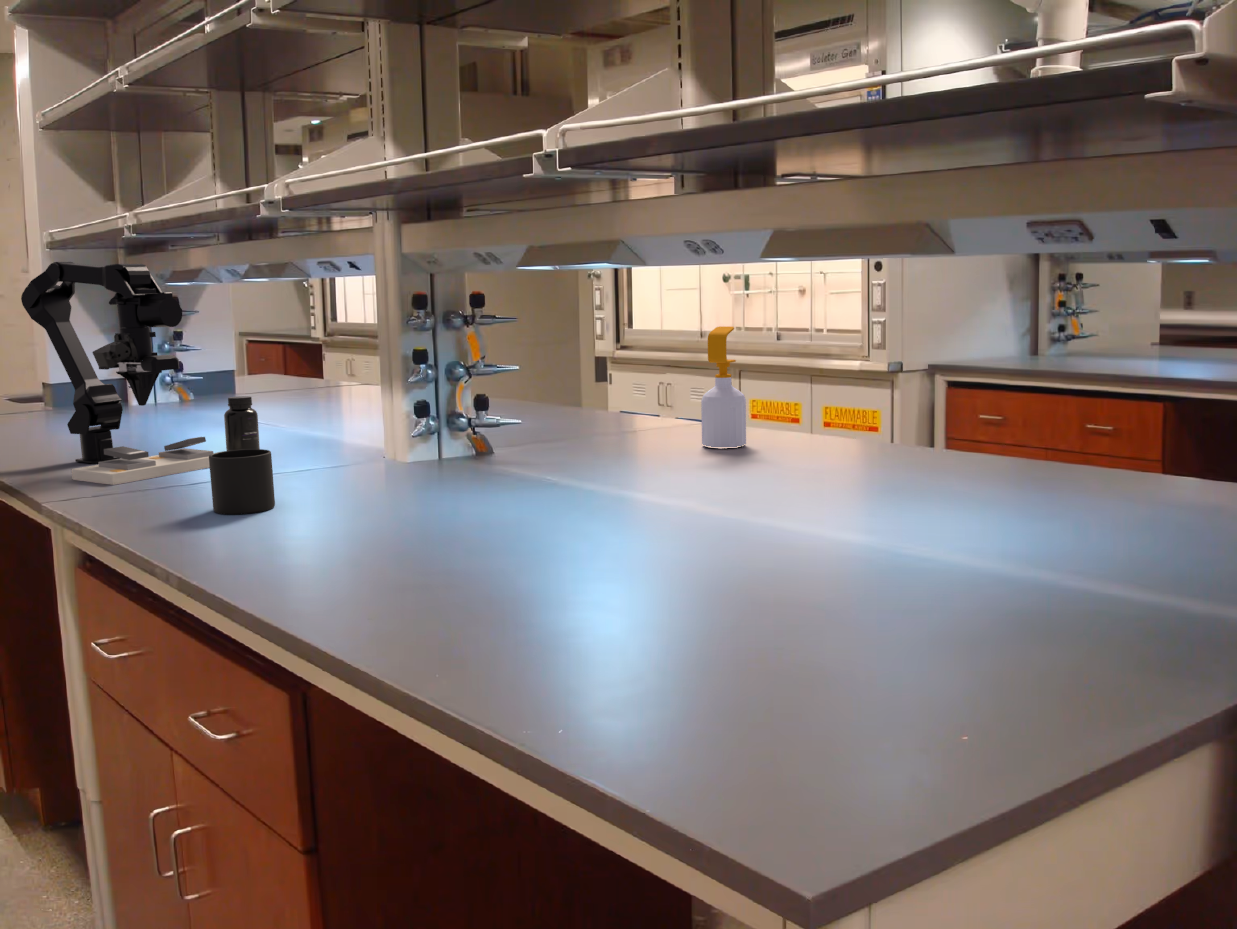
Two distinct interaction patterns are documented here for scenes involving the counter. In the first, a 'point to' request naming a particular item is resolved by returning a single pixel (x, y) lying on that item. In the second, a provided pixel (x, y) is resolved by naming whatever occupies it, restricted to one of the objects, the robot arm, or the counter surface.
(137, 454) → the rocker
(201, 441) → the rocker
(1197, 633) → the counter surface
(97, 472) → the switch panel
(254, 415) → the supplement bottle
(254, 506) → the mug
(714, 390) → the soap bottle
